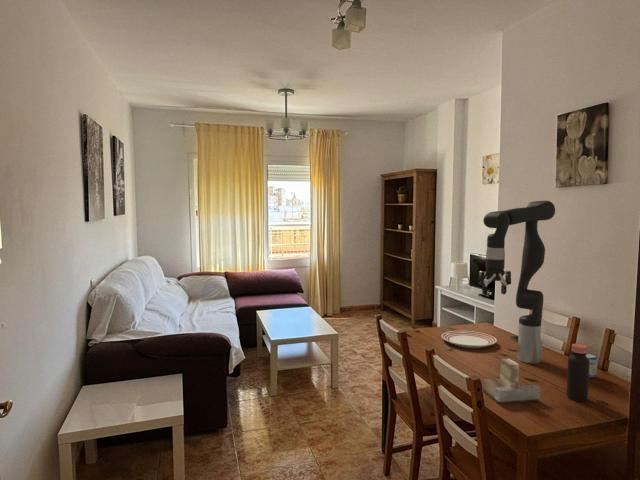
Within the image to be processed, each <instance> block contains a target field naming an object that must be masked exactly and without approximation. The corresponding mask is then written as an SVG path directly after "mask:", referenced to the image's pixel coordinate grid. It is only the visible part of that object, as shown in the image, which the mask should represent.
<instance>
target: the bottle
mask: <svg viewBox="0 0 640 480" xmlns="http://www.w3.org/2000/svg"><path fill="white" fill-rule="evenodd" d="M571 353H572V354H570V355H569V356H568V358H567V374H566V375H567V376H566V377H567V378H566V394H565V395H566V397H567V398H568V399H570V400H572V401H575V402H581V403H585V402H587V401H589V385H590V384H589V382H590V380H589V379H590V378H589V365H590V361H589V359H588V358H587V357H586V354H588V346H587V345H584V344H581V343H572V344H571Z"/></svg>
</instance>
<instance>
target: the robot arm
mask: <svg viewBox="0 0 640 480" xmlns="http://www.w3.org/2000/svg"><path fill="white" fill-rule="evenodd" d="M555 215H556V207H555V204H554V203H553V202H552V201H549V200H537V201H536V200H535V201H530V202H529V203H528V204H527V205H526V206H525V207H515V208H509V209H506V210H500V211H499V210H498V211H490V212H488V213H486V214H484V217H483V224H484V226H486V227H487V228H489V229H495V232H494V233H489V234H488V235H487V239H486V253H485V271H482V270H479V271H478V279H477V285H480V286H481V290H482V291H481V292H482V294H483V295H484V296H487V295H488V285H489V284H490V283H491V282H499V283H500V284H501V285H500V287H501V288H500V293H501V295H506V294H507V290H508V289H507V288H508V287H507V286H508V285H512V272H511V270H505V265H506V264H505V263H506V252H505V245H506V244H505V241H506V236H507V232H508V230H509V226H514V225H518V224H521V223H525V227H524V228H525V229H524V240H523V249H522V255H521V267H520V276H519V280H518V285H517V290H516V296H515V304H516V308H519V309H523V310H530V311H531V312H532V313H531V314H527V315H522V316H519V318H518V335H517V336H518V342H517V359H518V361H520V362H523V363H527V364H538V363H541V362H543V361H542V360H543V341H542V339H541V335H542V320H543V307H544V294H543V292H542V291H540V290H536V289H535V290H534V289H528V287H529V283H530V281H531V279H532V278H533V276H534V275H536V273H537V272H538V271H539V270H540V269H541V268H542V267H543V265H544V262H545V255H546V247H545V244H544V242H543V240H542V238H541V237H540V234H539V231H538V223H539V221H548V220H551V219H552V218H553V217H554V216H555Z"/></svg>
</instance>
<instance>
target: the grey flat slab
mask: <svg viewBox="0 0 640 480" xmlns="http://www.w3.org/2000/svg"><path fill="white" fill-rule="evenodd" d="M480 380H481V382H482V387H483V391H482V393H484V394H485V395H486V396H487V397H488V398H490V399H491V400H492V401H493V402H494V403H496V404H497V405H500V404H511V403H512V404H513V403H514V404H515V403H526V402H527V403H528V402H538V401H539V399H532V400H518V401H503V402H499V401H498V400H496V399H495V398H494V397H495V387H500V377H499V378H488V379H487V378H485V379H480ZM518 386H521V385H519V384H518Z"/></svg>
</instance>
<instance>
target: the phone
mask: <svg viewBox="0 0 640 480" xmlns="http://www.w3.org/2000/svg"><path fill="white" fill-rule="evenodd" d="M509 339H510V340H512V341H514V342H515V343H518V335H514V336H513V335H512V336H510V337H509Z"/></svg>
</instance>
